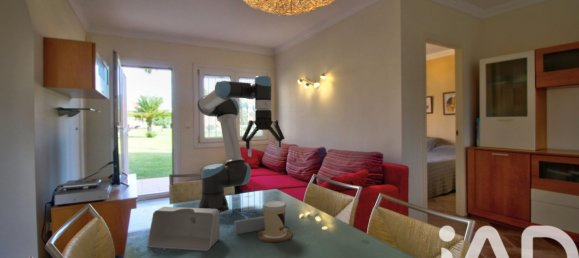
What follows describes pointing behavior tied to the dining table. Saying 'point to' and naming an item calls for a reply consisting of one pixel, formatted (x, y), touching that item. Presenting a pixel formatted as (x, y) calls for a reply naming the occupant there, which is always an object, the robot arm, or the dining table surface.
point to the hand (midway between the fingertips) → (263, 155)
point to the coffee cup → (274, 218)
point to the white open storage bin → (184, 228)
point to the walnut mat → (266, 238)
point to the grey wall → (249, 225)
